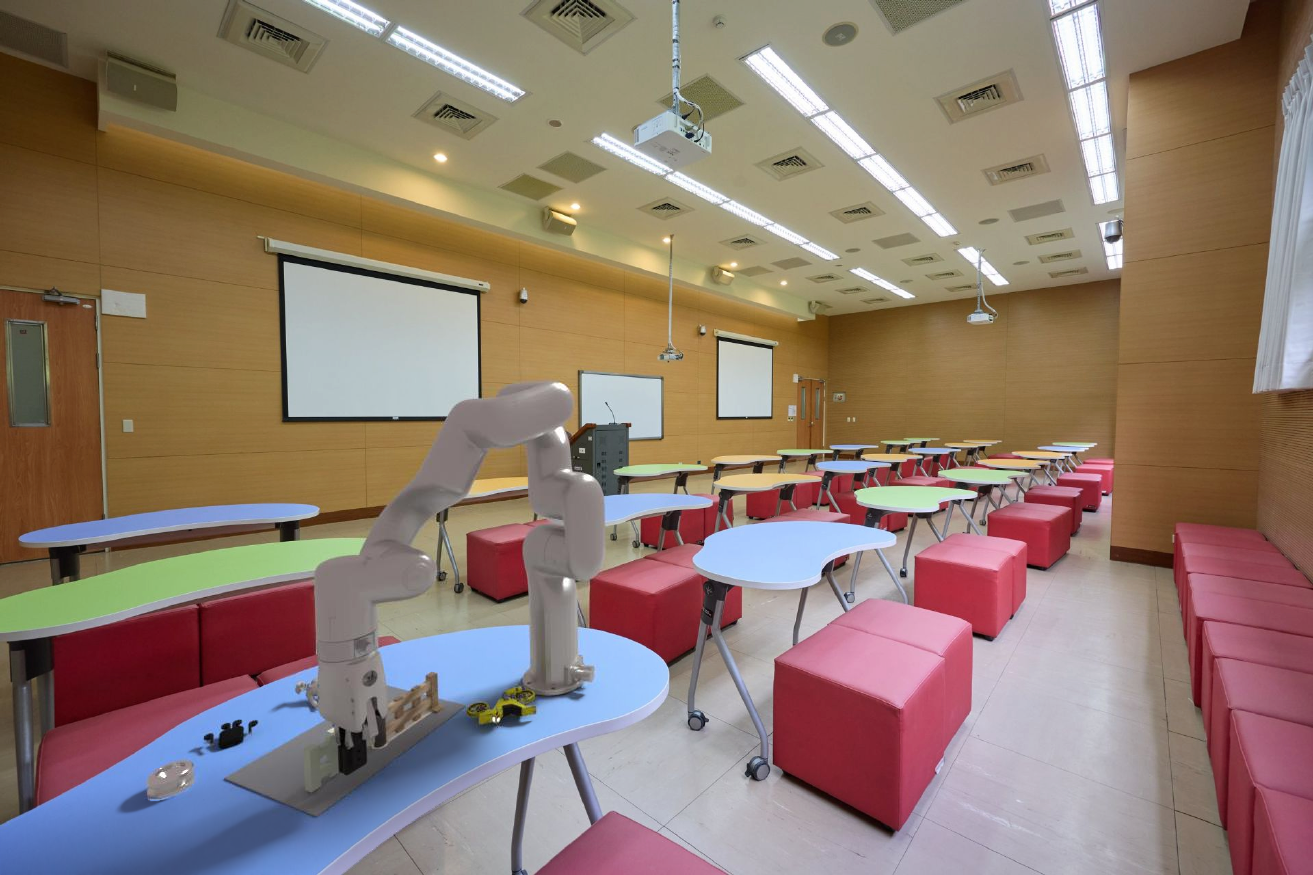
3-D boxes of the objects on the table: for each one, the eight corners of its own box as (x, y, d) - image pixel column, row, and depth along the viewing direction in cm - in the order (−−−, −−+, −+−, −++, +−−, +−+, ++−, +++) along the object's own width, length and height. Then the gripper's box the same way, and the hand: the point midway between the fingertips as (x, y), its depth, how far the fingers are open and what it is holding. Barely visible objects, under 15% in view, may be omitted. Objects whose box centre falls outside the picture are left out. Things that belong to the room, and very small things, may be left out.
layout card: (466, 706, 95) (466, 704, 95) (316, 817, 69) (316, 814, 69) (386, 686, 103) (386, 684, 103) (224, 778, 77) (224, 777, 77)
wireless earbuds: (202, 750, 82) (204, 725, 86) (203, 761, 83) (205, 737, 86) (258, 732, 86) (257, 710, 90) (258, 744, 87) (257, 721, 91)
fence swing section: (369, 745, 83) (368, 709, 83) (376, 747, 83) (374, 711, 82) (304, 789, 74) (303, 748, 73) (311, 792, 73) (309, 751, 73)
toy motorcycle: (531, 678, 98) (542, 697, 91) (532, 698, 98) (542, 718, 92) (464, 696, 92) (471, 717, 86) (465, 717, 92) (471, 739, 86)
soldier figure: (355, 712, 95) (283, 702, 92) (355, 720, 99) (285, 710, 96) (373, 669, 101) (305, 658, 98) (372, 677, 104) (306, 666, 101)
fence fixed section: (384, 751, 83) (382, 709, 82) (366, 746, 84) (364, 704, 84) (444, 709, 94) (443, 671, 94) (427, 705, 96) (426, 668, 95)
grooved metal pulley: (151, 786, 75) (143, 807, 71) (149, 767, 75) (142, 786, 71) (196, 772, 78) (192, 791, 74) (195, 753, 78) (191, 771, 74)
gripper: (405, 644, 74) (409, 768, 75) (344, 624, 81) (348, 738, 82) (353, 667, 67) (358, 803, 68) (291, 643, 74) (296, 767, 75)
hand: (353, 767), depth 75 cm, fingers closed
